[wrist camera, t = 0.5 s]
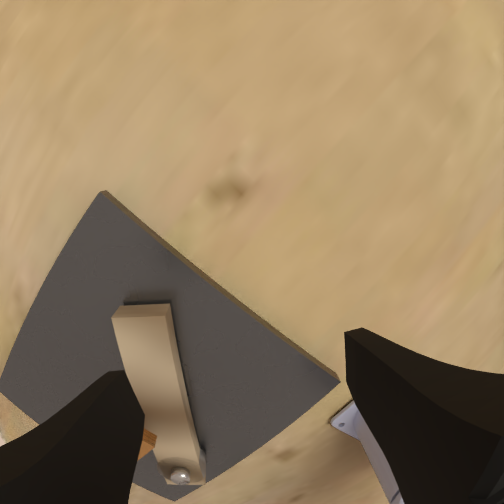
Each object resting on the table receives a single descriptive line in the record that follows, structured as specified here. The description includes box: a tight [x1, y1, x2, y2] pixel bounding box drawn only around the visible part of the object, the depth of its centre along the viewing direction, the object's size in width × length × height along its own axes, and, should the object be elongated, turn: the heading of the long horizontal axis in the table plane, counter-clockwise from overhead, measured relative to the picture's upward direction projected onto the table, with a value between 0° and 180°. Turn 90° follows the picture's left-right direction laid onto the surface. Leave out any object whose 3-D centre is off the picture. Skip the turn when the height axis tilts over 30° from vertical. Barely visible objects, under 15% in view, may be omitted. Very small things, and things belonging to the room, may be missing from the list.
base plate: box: [0, 190, 341, 501], centre depth 18 cm, size 19×20×6 cm
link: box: [111, 303, 206, 485], centre depth 18 cm, size 15×4×2 cm, turn 3°
